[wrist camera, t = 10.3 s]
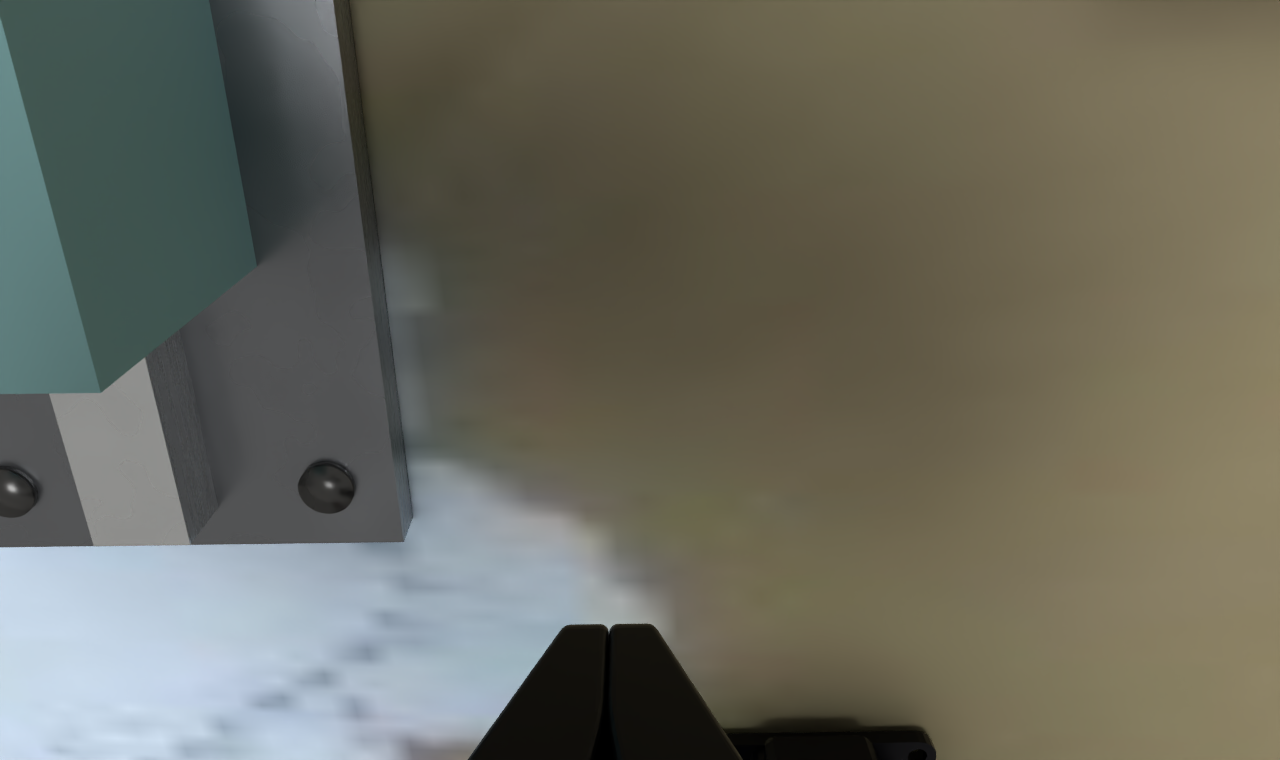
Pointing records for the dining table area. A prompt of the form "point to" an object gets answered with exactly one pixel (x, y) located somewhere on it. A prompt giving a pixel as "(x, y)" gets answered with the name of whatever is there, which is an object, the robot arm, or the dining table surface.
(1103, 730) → the dining table surface
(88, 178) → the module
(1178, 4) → the dining table surface
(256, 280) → the plate
